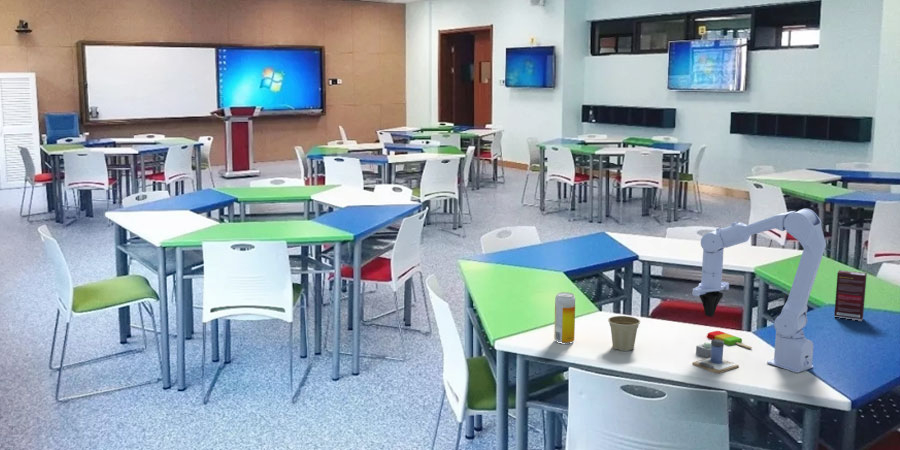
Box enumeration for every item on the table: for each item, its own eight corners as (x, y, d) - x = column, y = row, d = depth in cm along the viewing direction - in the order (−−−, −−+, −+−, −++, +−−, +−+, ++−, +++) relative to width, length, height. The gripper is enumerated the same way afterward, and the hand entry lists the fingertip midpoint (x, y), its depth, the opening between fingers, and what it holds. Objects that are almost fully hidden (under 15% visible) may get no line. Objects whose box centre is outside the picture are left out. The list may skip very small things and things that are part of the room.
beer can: (578, 341, 237) (579, 294, 234) (566, 346, 233) (568, 298, 230) (561, 337, 241) (562, 290, 238) (550, 341, 237) (551, 294, 234)
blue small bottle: (725, 362, 217) (726, 342, 215) (717, 364, 215) (718, 344, 214) (715, 358, 219) (716, 338, 218) (707, 361, 218) (708, 340, 216)
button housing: (718, 355, 225) (718, 347, 224) (708, 357, 222) (708, 350, 222) (705, 350, 228) (706, 343, 228) (695, 353, 226) (696, 345, 226)
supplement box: (863, 318, 260) (867, 272, 257) (861, 322, 256) (866, 275, 253) (834, 314, 264) (838, 269, 261) (833, 317, 260) (837, 272, 257)
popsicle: (717, 335, 244) (718, 329, 243) (757, 349, 231) (757, 343, 231) (705, 338, 241) (705, 332, 241) (744, 352, 228) (745, 346, 228)
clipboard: (738, 367, 215) (738, 363, 215) (717, 373, 210) (718, 369, 210) (713, 358, 222) (713, 354, 222) (692, 364, 217) (692, 360, 217)
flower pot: (600, 345, 234) (601, 317, 232) (626, 341, 237) (627, 314, 236) (619, 354, 225) (620, 326, 224) (645, 350, 229) (646, 322, 227)
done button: (712, 350, 225) (712, 344, 225) (707, 351, 224) (708, 345, 223) (706, 348, 227) (707, 342, 226) (702, 349, 225) (702, 343, 225)
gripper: (716, 265, 235) (713, 308, 237) (684, 272, 227) (682, 316, 229) (736, 270, 229) (733, 314, 231) (704, 277, 221) (702, 322, 223)
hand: (709, 315), depth 230 cm, fingers closed
